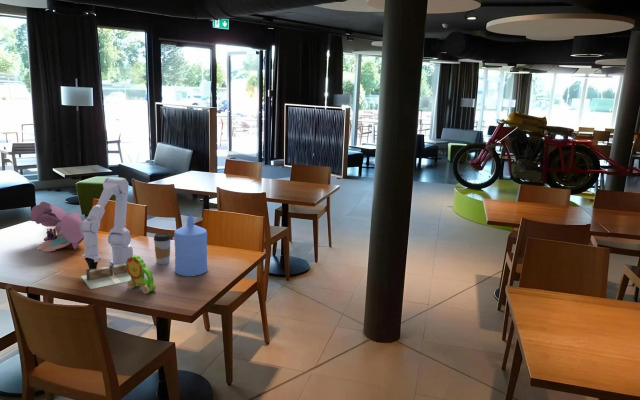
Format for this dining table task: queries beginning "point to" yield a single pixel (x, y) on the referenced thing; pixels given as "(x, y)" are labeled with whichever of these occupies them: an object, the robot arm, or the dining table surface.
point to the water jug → (190, 249)
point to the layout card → (107, 280)
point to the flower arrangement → (57, 227)
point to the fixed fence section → (118, 269)
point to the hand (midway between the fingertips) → (92, 272)
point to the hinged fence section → (97, 273)
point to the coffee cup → (162, 247)
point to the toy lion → (139, 274)
